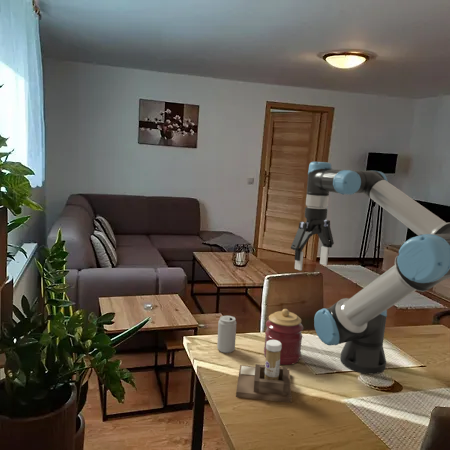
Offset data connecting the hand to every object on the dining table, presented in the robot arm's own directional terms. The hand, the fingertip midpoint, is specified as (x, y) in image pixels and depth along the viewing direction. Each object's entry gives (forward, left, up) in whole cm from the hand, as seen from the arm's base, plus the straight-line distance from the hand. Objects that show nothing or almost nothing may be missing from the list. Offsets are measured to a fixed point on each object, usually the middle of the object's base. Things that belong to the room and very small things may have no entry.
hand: (311, 267), depth 151 cm
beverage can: (+28, +5, -32) cm, 43 cm away
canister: (+8, +6, -32) cm, 33 cm away
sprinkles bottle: (+12, +28, -30) cm, 43 cm away
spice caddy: (+14, +26, -32) cm, 43 cm away
